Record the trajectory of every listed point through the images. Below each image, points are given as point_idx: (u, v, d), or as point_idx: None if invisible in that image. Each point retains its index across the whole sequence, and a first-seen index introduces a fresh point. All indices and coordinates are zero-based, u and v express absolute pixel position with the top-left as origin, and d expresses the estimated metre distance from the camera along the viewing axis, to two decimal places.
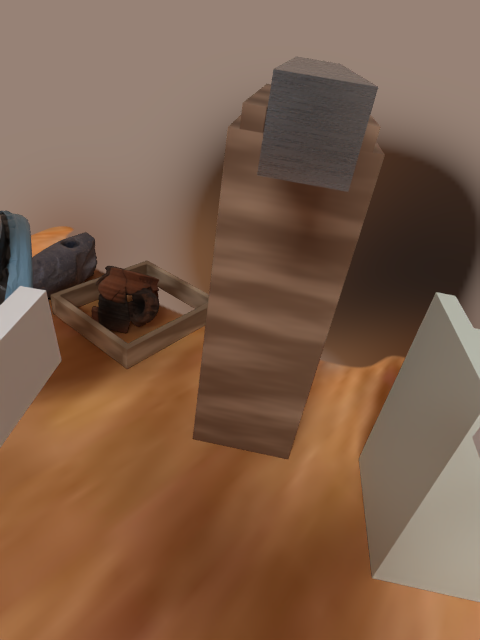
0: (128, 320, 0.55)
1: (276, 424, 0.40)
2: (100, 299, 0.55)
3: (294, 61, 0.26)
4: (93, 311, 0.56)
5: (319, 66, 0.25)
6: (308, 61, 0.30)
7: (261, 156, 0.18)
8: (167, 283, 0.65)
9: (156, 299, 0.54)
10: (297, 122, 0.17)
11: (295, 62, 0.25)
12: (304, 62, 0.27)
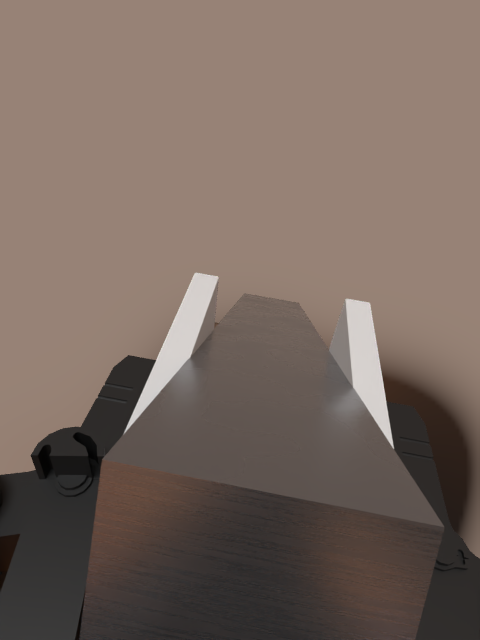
0: None
1: None
2: None
3: (231, 319, 0.17)
4: None
5: (268, 332, 0.16)
6: (255, 309, 0.22)
7: None
8: None
9: None
10: (185, 606, 0.05)
11: (230, 325, 0.16)
12: (247, 318, 0.18)
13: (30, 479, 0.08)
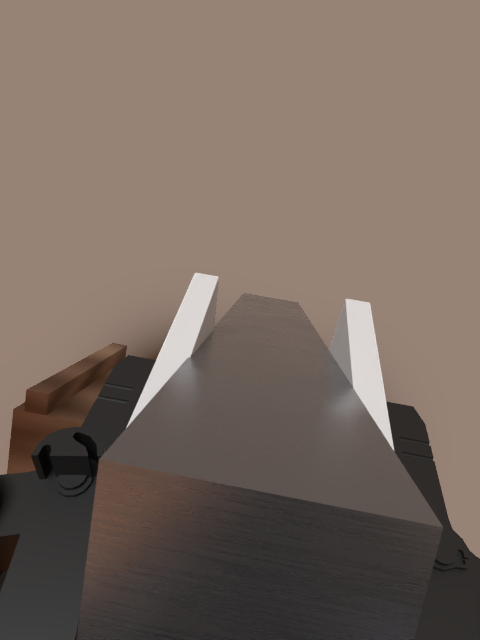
0: None
1: None
2: None
3: (230, 319, 0.17)
4: None
5: (267, 331, 0.16)
6: (255, 309, 0.22)
7: None
8: None
9: None
10: (184, 605, 0.05)
11: (229, 325, 0.16)
12: (246, 318, 0.18)
13: (30, 479, 0.08)
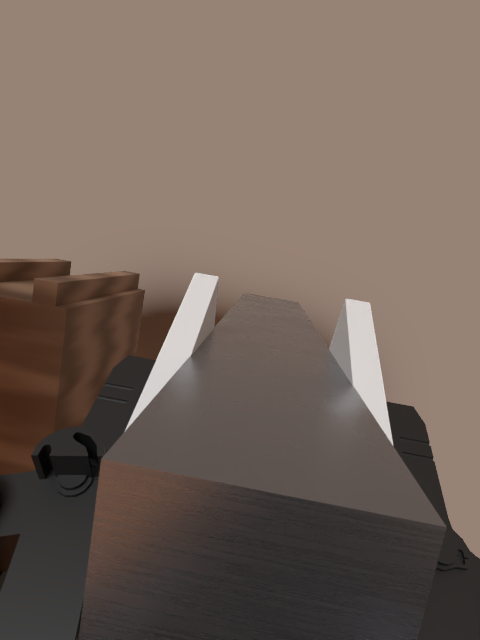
0: None
1: None
2: None
3: (231, 319, 0.17)
4: None
5: (268, 331, 0.16)
6: (255, 309, 0.22)
7: None
8: None
9: None
10: (186, 606, 0.05)
11: (230, 325, 0.16)
12: (247, 317, 0.18)
13: (30, 479, 0.08)
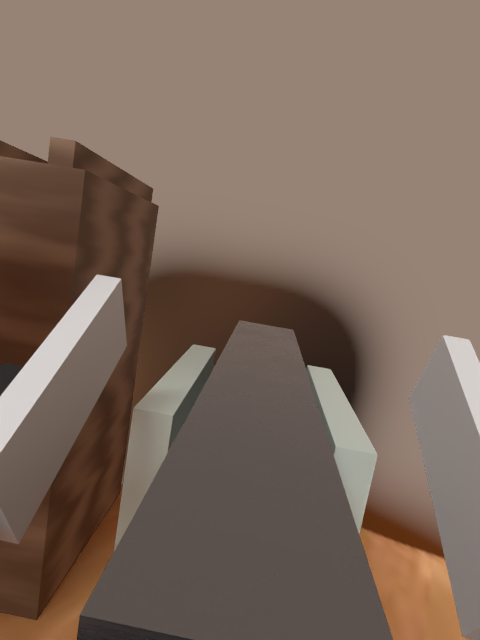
0: None
1: (13, 554, 0.28)
2: None
3: (222, 367, 0.17)
4: None
5: (259, 383, 0.16)
6: (249, 346, 0.22)
7: None
8: None
9: None
10: None
11: (221, 377, 0.16)
12: (239, 362, 0.19)
13: None
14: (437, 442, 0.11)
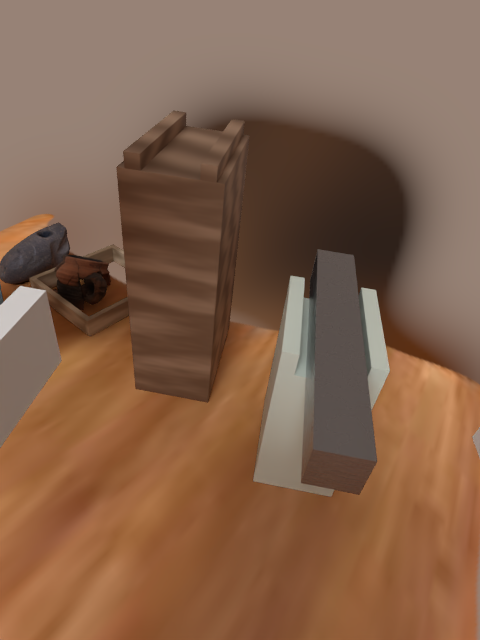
0: (83, 300, 0.67)
1: (194, 376, 0.53)
2: (58, 284, 0.67)
3: (319, 326, 0.36)
4: None
5: (338, 340, 0.35)
6: (329, 295, 0.40)
7: (304, 477, 0.28)
8: None
9: (103, 282, 0.66)
10: (326, 467, 0.27)
11: (321, 337, 0.35)
12: (326, 319, 0.37)
13: None
14: None
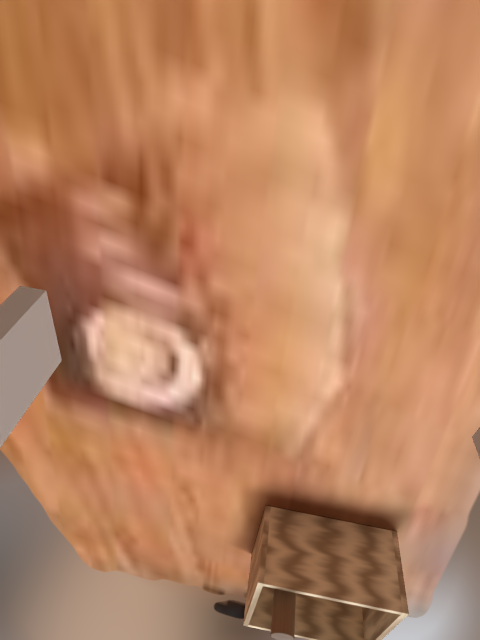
0: None
1: None
2: None
3: None
4: None
5: None
6: None
7: None
8: None
9: None
10: None
11: None
12: None
13: None
14: None
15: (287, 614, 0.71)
